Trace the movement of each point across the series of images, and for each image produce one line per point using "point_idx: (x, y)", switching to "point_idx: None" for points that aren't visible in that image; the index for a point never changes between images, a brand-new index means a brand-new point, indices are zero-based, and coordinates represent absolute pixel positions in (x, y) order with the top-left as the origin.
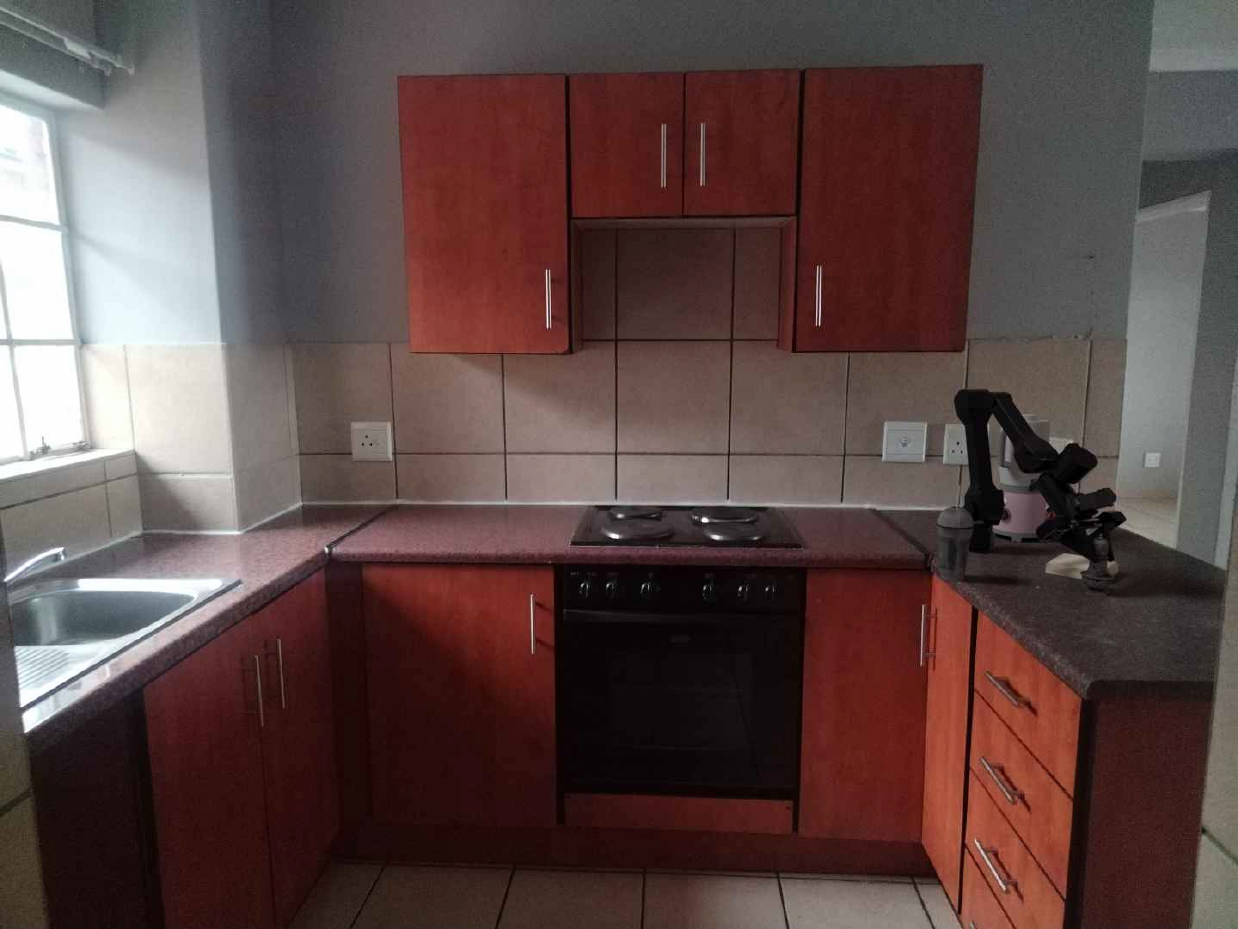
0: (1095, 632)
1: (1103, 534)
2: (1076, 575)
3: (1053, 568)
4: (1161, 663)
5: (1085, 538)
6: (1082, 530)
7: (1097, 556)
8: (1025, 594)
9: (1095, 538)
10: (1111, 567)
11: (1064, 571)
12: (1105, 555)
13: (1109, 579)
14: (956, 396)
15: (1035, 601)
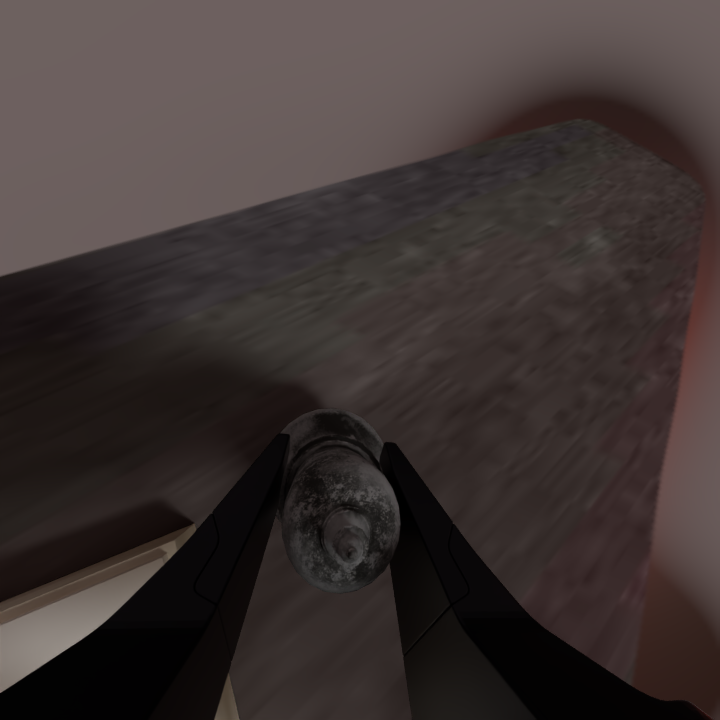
0: (583, 275)
1: (211, 617)
2: None
3: None
4: (588, 161)
5: (471, 592)
6: (572, 676)
7: (393, 459)
8: (542, 534)
9: (367, 569)
10: (6, 616)
11: (222, 698)
12: (342, 448)
13: (341, 410)
14: None
15: (559, 471)
